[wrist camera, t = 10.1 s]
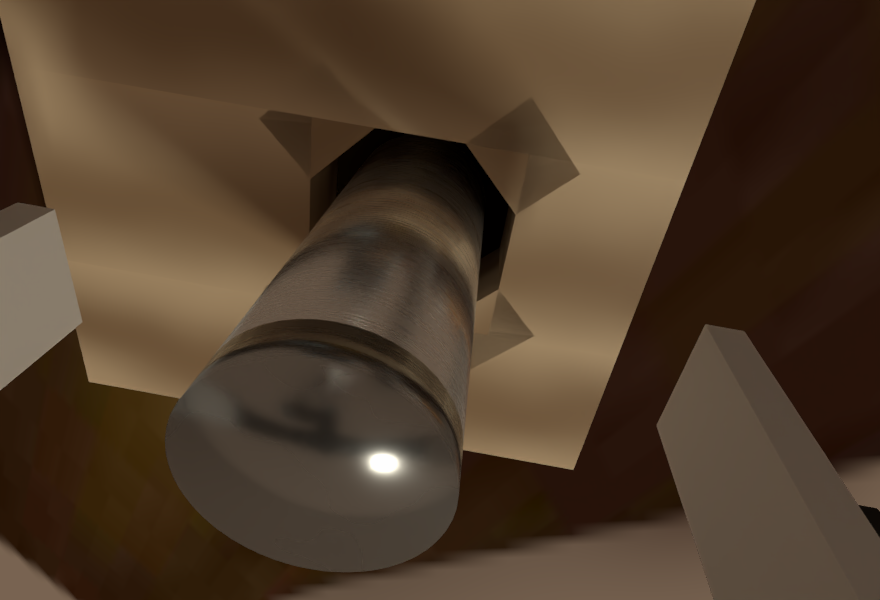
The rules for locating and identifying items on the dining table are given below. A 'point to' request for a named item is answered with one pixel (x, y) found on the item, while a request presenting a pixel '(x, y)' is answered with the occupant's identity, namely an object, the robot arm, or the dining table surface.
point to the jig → (337, 129)
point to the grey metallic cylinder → (347, 376)
